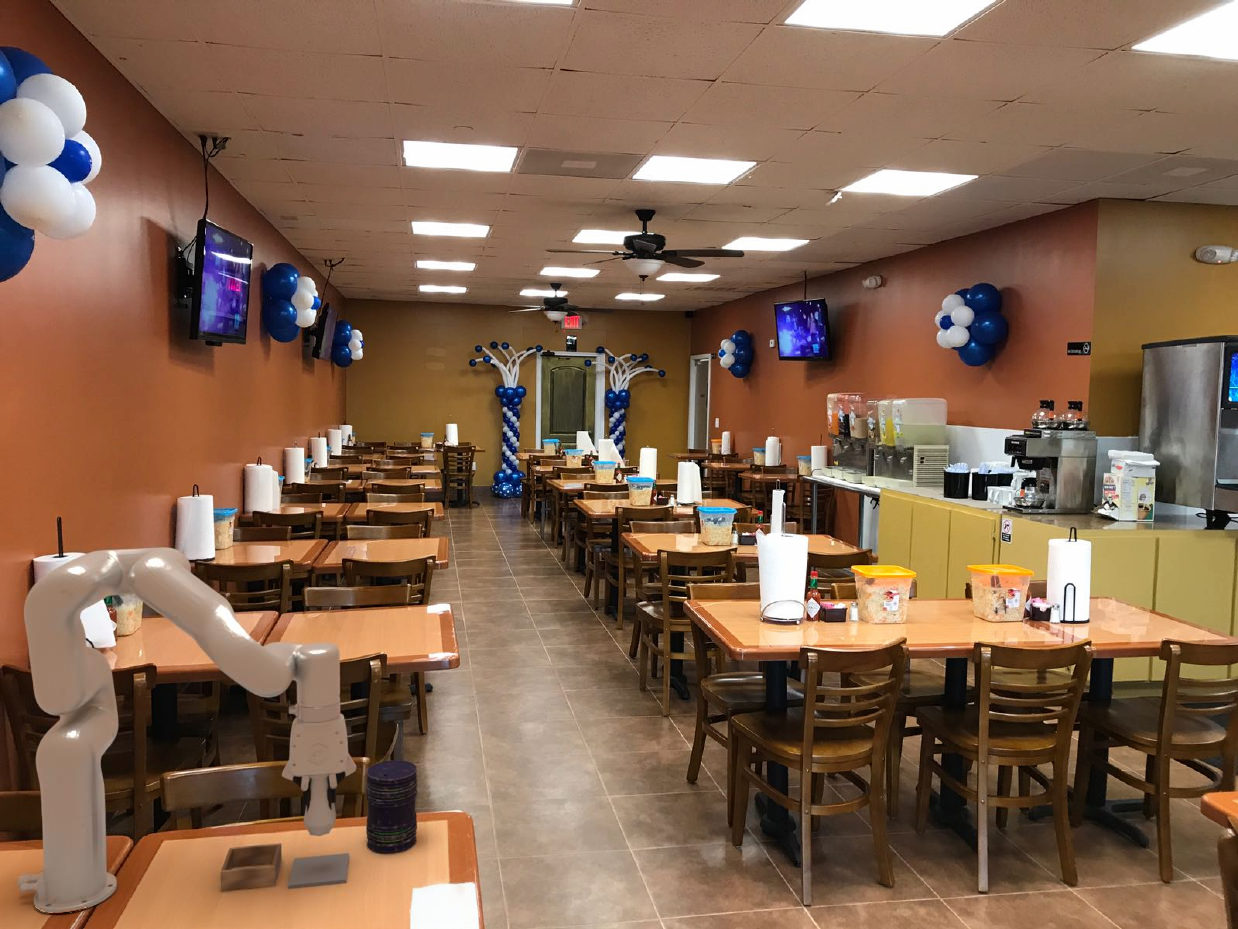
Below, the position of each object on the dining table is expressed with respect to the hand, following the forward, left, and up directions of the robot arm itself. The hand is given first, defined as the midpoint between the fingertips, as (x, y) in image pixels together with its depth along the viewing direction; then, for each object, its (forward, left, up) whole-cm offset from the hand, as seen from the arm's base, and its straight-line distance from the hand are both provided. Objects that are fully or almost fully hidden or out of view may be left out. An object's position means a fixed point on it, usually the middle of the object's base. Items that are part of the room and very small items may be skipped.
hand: (319, 806), depth 170 cm
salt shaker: (0, 0, -5) cm, 5 cm away
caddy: (-12, +1, -13) cm, 17 cm away
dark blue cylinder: (+13, +9, -13) cm, 20 cm away
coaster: (0, 0, -13) cm, 13 cm away
